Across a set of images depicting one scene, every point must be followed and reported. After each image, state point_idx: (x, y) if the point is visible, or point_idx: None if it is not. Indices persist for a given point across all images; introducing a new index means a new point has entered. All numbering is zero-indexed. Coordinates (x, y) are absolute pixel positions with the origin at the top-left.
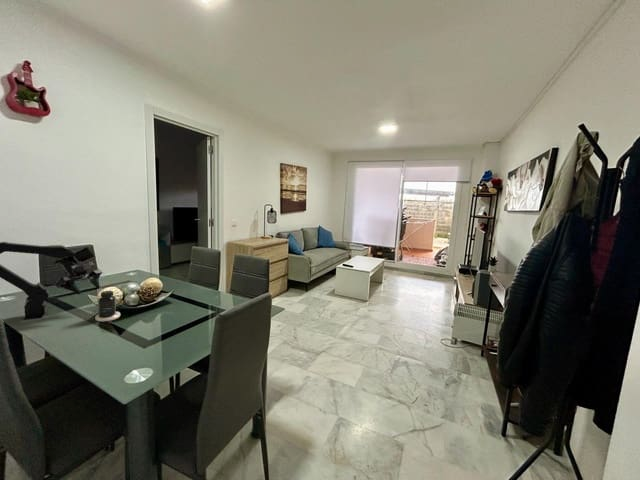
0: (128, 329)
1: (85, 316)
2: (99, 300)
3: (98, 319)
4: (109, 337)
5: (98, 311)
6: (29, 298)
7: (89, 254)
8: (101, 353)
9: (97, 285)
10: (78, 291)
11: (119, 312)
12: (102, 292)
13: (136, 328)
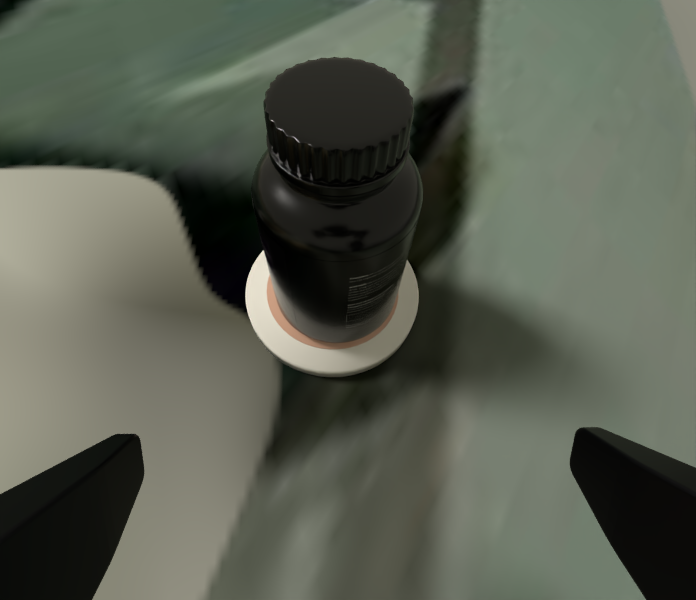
0: None
1: (401, 479)
2: (421, 194)
3: (416, 285)
4: (505, 104)
5: (394, 297)
6: None
7: None
8: (589, 51)
9: (91, 496)
10: (650, 449)
11: (255, 263)
12: (379, 128)
13: None
